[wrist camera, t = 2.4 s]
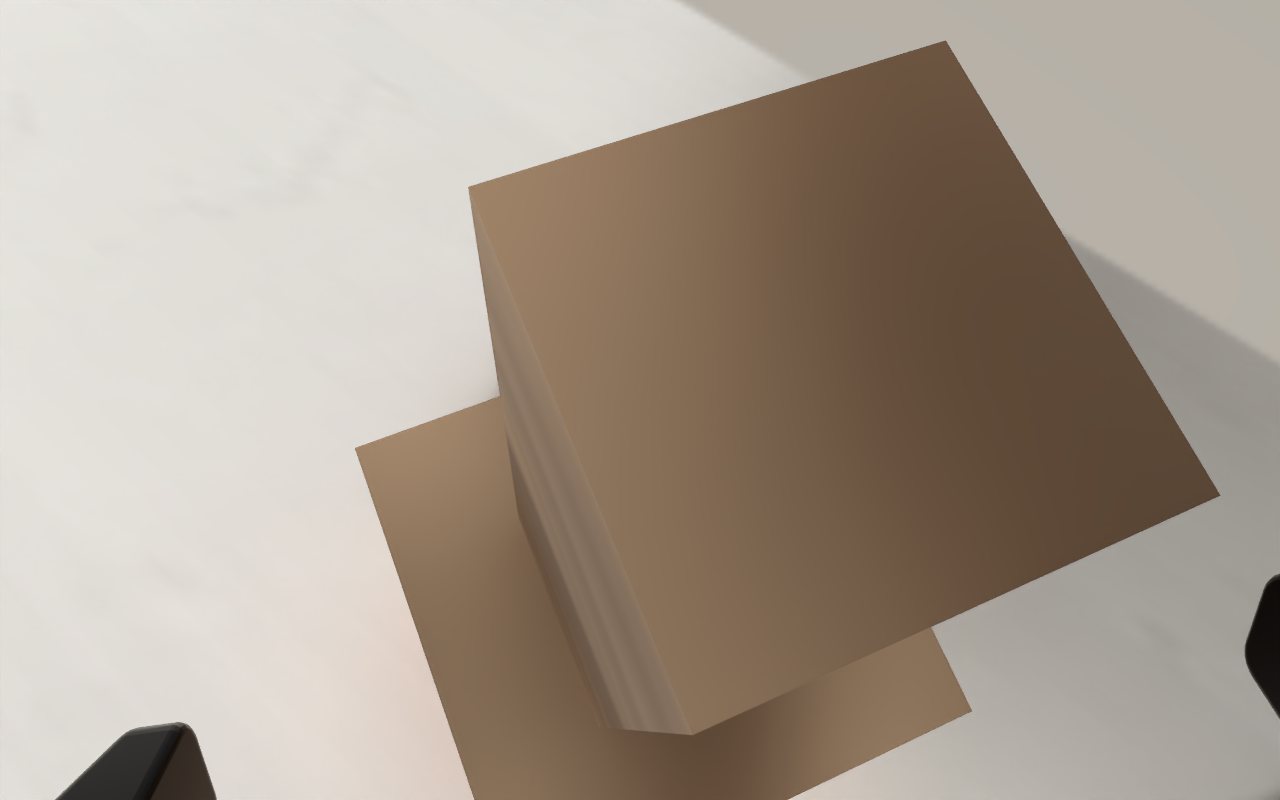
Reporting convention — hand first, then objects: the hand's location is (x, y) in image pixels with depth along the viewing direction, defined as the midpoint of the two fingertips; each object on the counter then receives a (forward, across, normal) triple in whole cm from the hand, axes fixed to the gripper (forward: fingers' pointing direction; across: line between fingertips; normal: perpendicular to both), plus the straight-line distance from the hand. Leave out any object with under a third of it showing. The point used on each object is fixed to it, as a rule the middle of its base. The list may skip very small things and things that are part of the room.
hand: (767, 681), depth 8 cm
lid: (+6, 0, +4) cm, 7 cm away
